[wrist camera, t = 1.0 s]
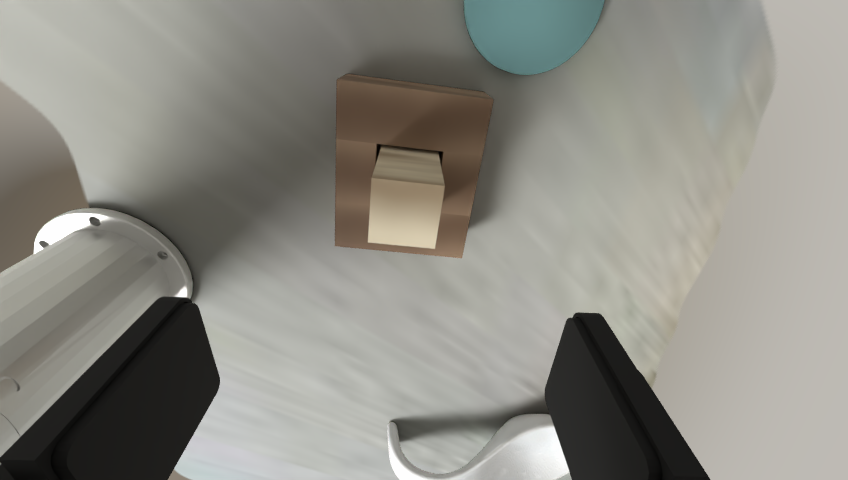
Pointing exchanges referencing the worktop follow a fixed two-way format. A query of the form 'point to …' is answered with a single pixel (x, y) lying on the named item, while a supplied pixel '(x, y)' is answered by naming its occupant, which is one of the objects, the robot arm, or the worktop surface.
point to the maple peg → (406, 197)
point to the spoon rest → (498, 454)
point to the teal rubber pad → (530, 31)
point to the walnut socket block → (415, 128)
